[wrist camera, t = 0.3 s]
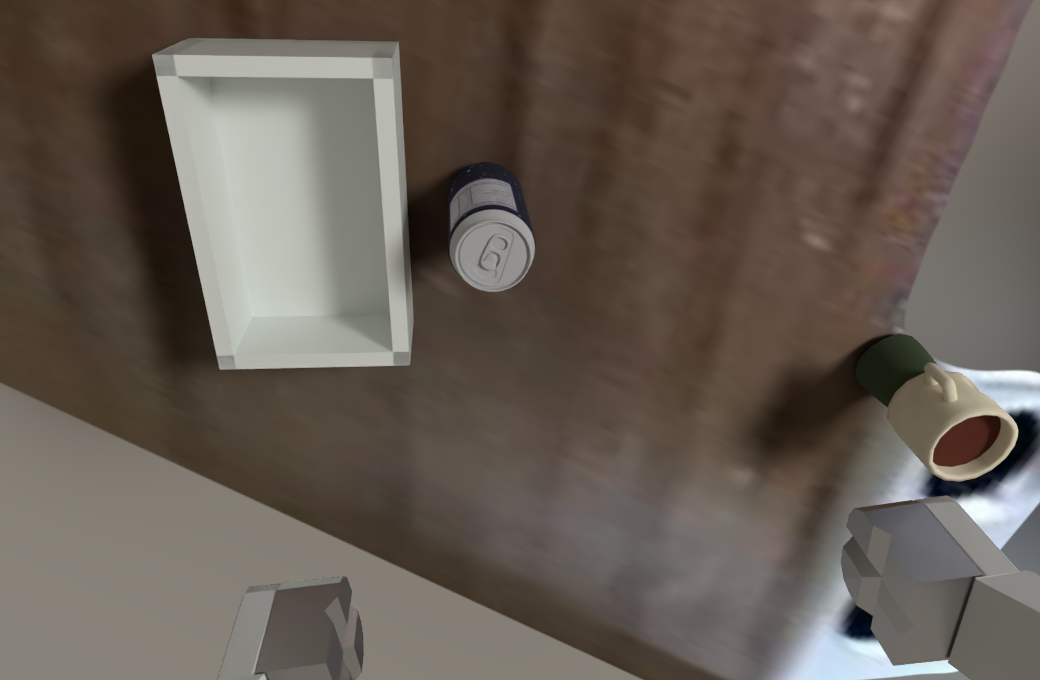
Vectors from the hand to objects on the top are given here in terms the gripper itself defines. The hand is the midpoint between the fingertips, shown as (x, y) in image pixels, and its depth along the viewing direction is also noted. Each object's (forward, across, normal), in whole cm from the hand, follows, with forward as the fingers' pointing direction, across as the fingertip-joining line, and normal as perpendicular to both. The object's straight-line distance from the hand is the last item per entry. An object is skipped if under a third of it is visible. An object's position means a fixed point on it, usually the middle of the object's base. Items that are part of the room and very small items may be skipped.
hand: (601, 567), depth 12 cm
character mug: (+46, -34, +29) cm, 65 cm away
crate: (+46, +14, +7) cm, 48 cm away
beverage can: (+46, +1, +9) cm, 47 cm away
